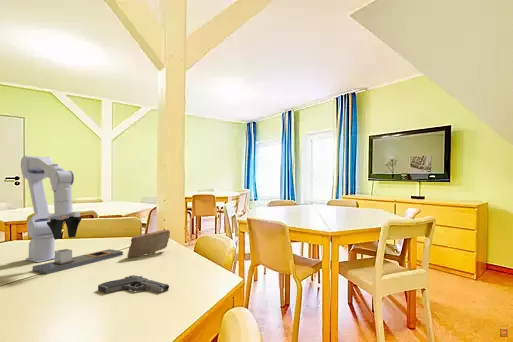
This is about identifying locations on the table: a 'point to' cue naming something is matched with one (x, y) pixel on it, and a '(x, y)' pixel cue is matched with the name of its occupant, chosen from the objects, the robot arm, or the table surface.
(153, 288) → the handgun
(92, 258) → the rail
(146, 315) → the table surface
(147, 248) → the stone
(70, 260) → the grey rectangular block
